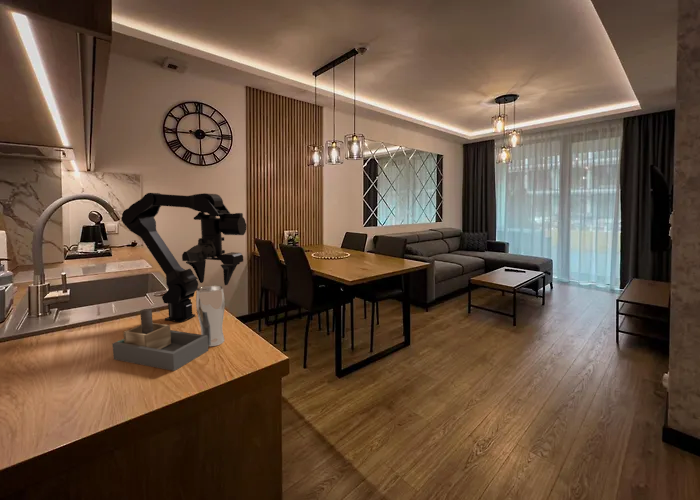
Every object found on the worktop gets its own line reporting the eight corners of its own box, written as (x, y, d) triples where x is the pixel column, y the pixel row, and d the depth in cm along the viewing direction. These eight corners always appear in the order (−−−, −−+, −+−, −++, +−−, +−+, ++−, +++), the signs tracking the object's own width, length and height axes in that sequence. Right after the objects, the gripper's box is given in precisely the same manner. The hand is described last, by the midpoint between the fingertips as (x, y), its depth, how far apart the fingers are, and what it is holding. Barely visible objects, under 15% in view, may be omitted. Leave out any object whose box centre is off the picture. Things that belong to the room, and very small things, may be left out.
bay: (113, 359, 80) (112, 343, 79) (152, 341, 90) (151, 327, 90) (174, 370, 75) (173, 354, 74) (208, 350, 85) (207, 335, 84)
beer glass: (216, 348, 86) (213, 292, 84) (192, 346, 87) (189, 290, 85) (231, 338, 93) (229, 285, 91) (208, 336, 94) (206, 284, 92)
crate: (125, 351, 81) (121, 313, 80) (149, 340, 88) (147, 304, 86) (147, 355, 79) (144, 316, 78) (171, 343, 86) (168, 307, 84)
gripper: (166, 235, 98) (169, 287, 100) (219, 238, 93) (222, 292, 95) (194, 232, 108) (196, 279, 111) (243, 234, 103) (245, 284, 105)
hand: (213, 283), depth 105 cm, fingers open, 9 cm apart
